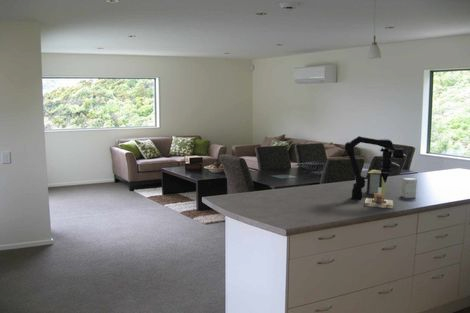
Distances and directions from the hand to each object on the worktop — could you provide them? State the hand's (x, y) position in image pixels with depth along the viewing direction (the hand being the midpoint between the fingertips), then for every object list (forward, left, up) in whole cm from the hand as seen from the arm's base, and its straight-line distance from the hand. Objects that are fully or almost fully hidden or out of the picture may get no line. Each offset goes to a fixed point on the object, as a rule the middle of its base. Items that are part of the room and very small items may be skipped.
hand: (385, 181), depth 332 cm
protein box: (-6, +24, -13) cm, 28 cm away
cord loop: (-3, -15, -12) cm, 19 cm away
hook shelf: (-3, -15, -13) cm, 20 cm away
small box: (+16, +18, -13) cm, 27 cm away
